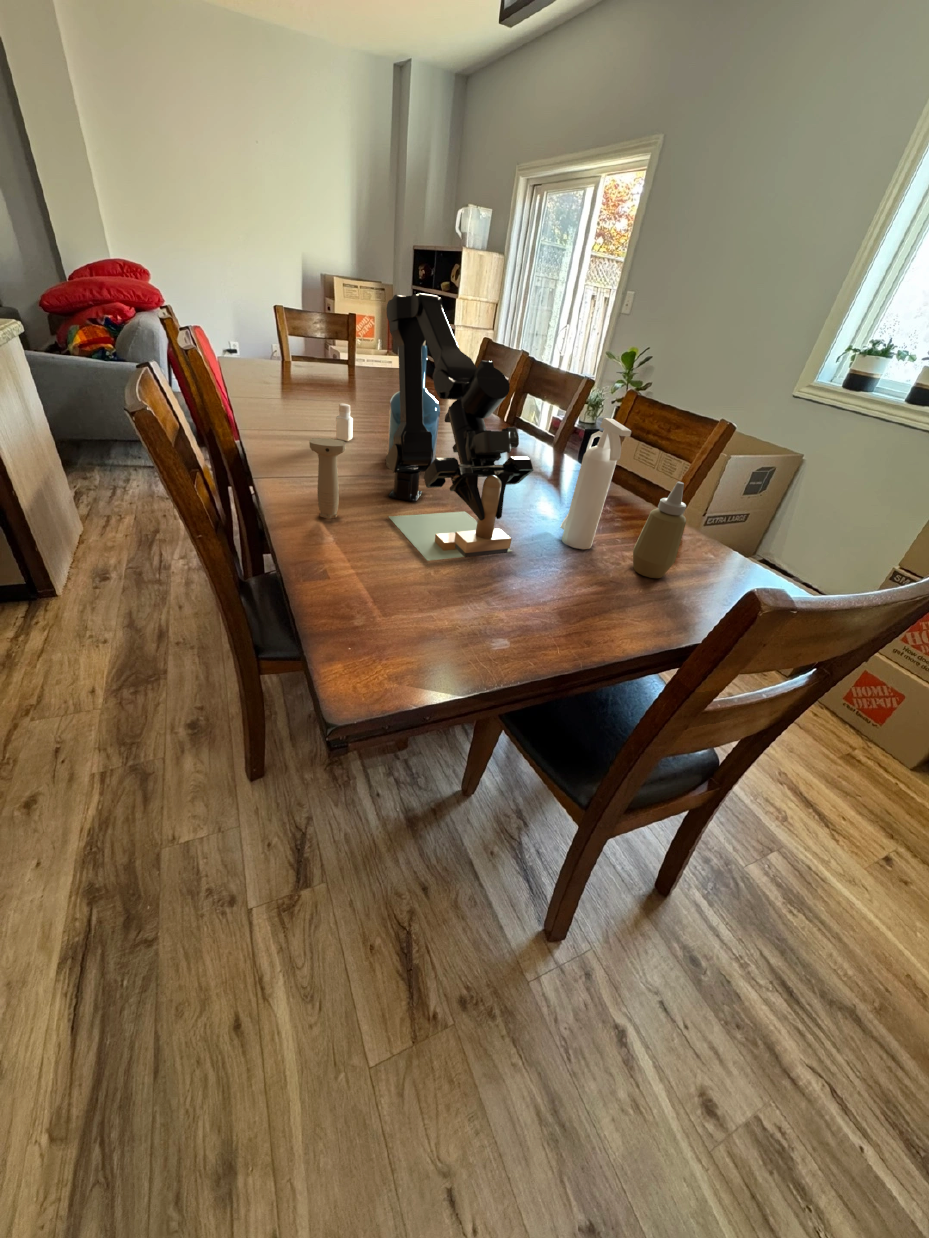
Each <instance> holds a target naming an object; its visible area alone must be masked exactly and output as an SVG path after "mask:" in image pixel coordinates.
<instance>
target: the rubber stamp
mask: <svg viewBox="0 0 929 1238" xmlns="http://www.w3.org/2000/svg"><path fill="white" fill-rule="evenodd" d="M500 491H501V481H500V479H499V478H498V477H496V476H489V477H485V479H484V481H483V483H482V490H481V495H480V497H481V501H482V505H483V509H484V515H485V519H483V520H479V518H478V517H477V520H476V521H477V527H476V530H471V531H459V532H456V533H455V540H454V542H455V543H456V544H455V548H456V549H457V550H458V551H459V552H460V553H461V554H462V555H463V556H464V557H463V558H465V559H466V558H474V557H475V558H476V557H484V556H494V555H502V554H503V555H504V554H508V553H509V552H508V548H509V549H511V544H512V540H513V539H512V537H511V536H509V535H508V534H507V533H506V532H505V531H504V530H502V529H501V528H499V527H496V528H495V524H496V519H497V518H496V513H497V508H498V502H499V497H500Z"/></svg>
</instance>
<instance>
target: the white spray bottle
mask: <svg viewBox="0 0 929 1238" xmlns="http://www.w3.org/2000/svg"><path fill="white" fill-rule="evenodd" d="M599 428H601V429H603V431H600V430H598V431H596V432H594V433H592V434H591V435H590V438H589V440H588V443H587V446H586V449H585V452H584V453H583V456H582V460H581V464H580V467H579V472H578V476H577V479H576V483H575V487H574V491H573V494H572V498H571V502H570V506H569V510H568V513H567V515H566V516H565V518H564V519H563V521H562V522H561V524H560V527H559V528H560V529H562V530H563V533H562V536H561V541H562V543H564V545H566V546H568V547H571V548H574V549H579V550H588V549H591V548H592V546H593V543H594V540H595V537H596V533H597V530H598V526H599V523H600V519H601V516H602V513H603V509H604V506H605V503H606V499H607V496H608V493H609V488H610V486H611V483H612V480H613V475H614V472H615V468H616V467H617V463H618V461H619V460H621V454H622V442H621V437H628V438H630V437H631V434H632V430H631V429H630V428H628V427H626V426H625V425H623V424H622V423H620V422H618V421H617V420H616V419H614V418H609V417H603V419H602V421H601V423H600V425H599ZM598 437H599V439H598V442H597V444H596V445H595V446H592V445H593V442H594V439H595V438H598Z"/></svg>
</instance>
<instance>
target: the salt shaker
mask: <svg viewBox="0 0 929 1238" xmlns="http://www.w3.org/2000/svg"><path fill="white" fill-rule="evenodd" d="M353 426H354V418H353V417H352V416H351V405H350V404H348V403H339V404H338V415H337V416H336V417H335V439H337V440H341V441H344V442H349V441H351V440H353V438H354V436H353V435H354V431H353V430H354V429H353V428H354V427H353Z"/></svg>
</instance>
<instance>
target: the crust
mask: <svg viewBox="0 0 929 1238" xmlns="http://www.w3.org/2000/svg"><path fill="white" fill-rule="evenodd" d="M454 540H455V533H442V534H435V542H436V543H437V544H438V545H439V547H440V548H441V549H442V550H443V551H445V550H455V549H456V548H455V544H456V543H455V542H454Z"/></svg>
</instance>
